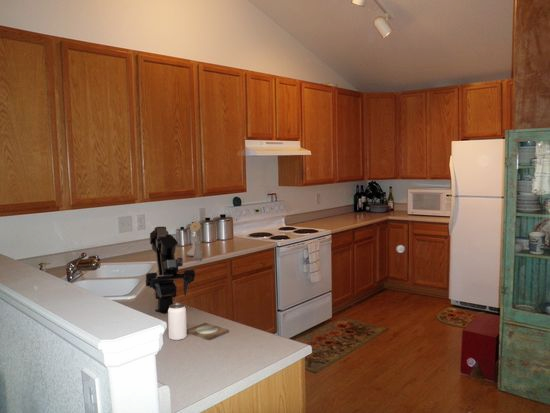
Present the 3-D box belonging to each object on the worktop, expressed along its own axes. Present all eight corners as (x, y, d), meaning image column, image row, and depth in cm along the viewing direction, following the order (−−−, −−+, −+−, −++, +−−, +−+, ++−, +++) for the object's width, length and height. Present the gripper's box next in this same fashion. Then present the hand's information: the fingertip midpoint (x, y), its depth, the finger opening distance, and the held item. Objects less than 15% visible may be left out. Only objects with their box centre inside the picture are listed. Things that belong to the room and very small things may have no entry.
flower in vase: (183, 256, 317) (182, 221, 315) (195, 253, 326) (194, 219, 323) (194, 258, 309) (194, 222, 306) (207, 255, 317) (206, 221, 315)
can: (188, 333, 167) (187, 302, 166) (185, 340, 160) (184, 308, 159) (170, 334, 167) (169, 303, 166) (167, 341, 160) (166, 308, 159)
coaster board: (185, 332, 168) (185, 329, 168) (205, 325, 176) (205, 322, 176) (209, 340, 160) (209, 337, 160) (228, 332, 168) (228, 329, 168)
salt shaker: (193, 259, 304) (192, 241, 302) (201, 259, 306) (200, 240, 305) (194, 261, 298) (194, 242, 297) (203, 260, 300) (202, 241, 299)
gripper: (145, 252, 170) (149, 288, 160) (193, 249, 176) (200, 283, 167) (143, 268, 178) (147, 303, 169) (190, 264, 185) (196, 297, 175)
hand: (173, 296), depth 170 cm, fingers open, 9 cm apart
